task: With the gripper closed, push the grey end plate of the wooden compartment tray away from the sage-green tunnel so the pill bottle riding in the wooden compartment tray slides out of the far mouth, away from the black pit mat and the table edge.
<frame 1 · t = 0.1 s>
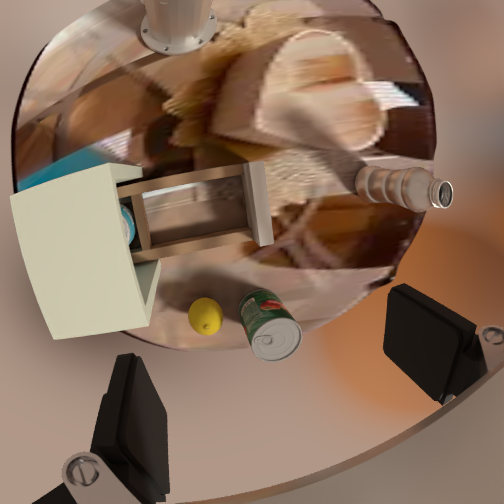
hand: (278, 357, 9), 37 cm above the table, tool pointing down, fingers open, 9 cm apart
lemon: (203, 304, 49), on the table
pill bottle: (115, 225, 42), resting in wooden compartment tray
plastic bottle: (364, 182, 49), on the table
tunnel: (115, 225, 41), on the table
canned tomato: (259, 308, 51), on the table
wooden compartment tray: (154, 220, 39), point 4 cm above the table, slide at 0.0 cm
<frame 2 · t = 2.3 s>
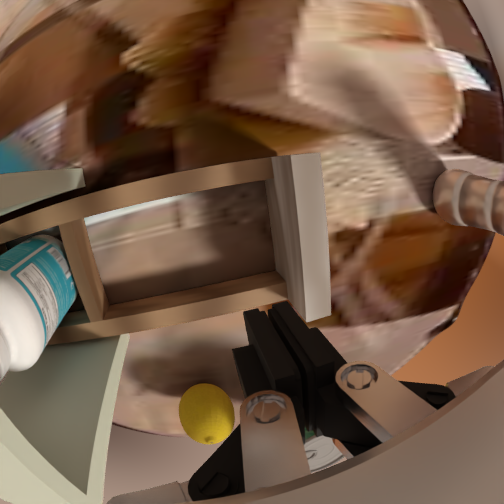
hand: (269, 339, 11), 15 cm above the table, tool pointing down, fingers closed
lemon: (202, 385, 29), on the table
pill bottle: (50, 270, 22), resting in wooden compartment tray
plastic bottle: (440, 193, 29), on the table
tunnel: (49, 271, 21), on the table
canned tomato: (286, 384, 32), on the table
wooden compartment tray: (101, 272, 19), point 4 cm above the table, slide at 0.0 cm
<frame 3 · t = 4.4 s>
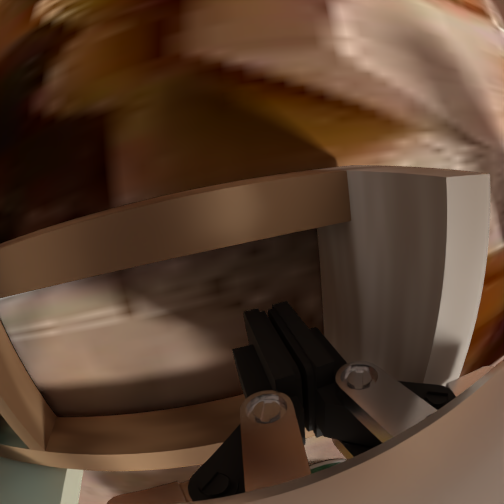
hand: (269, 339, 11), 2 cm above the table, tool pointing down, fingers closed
wooden compartment tray: (15, 402, 7), point 4 cm above the table, slide at 0.8 cm, touching gripper, pill bottle
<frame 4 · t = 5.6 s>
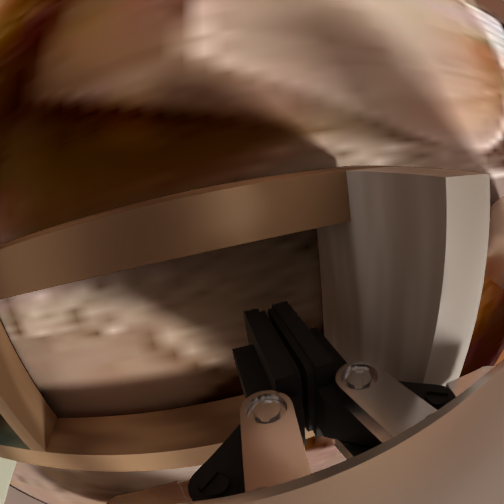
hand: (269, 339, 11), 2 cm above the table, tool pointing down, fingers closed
plastic bottle: (488, 233, 16), on the table
wooden compartment tray: (15, 403, 7), point 4 cm above the table, slide at 7.5 cm, touching gripper, pill bottle
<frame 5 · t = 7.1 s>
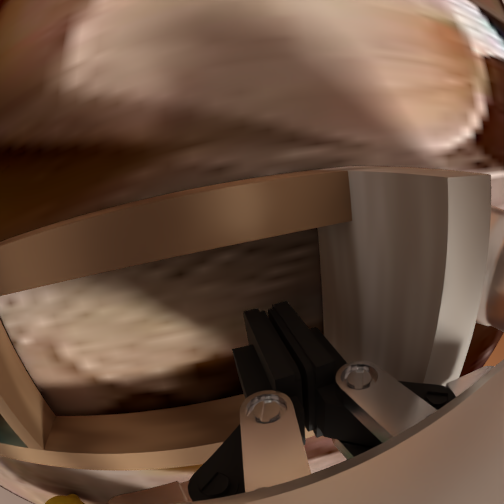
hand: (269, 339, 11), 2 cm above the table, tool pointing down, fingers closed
lemon: (75, 493, 14), on the table
plastic bottle: (449, 250, 15), on the table
wooden compartment tray: (14, 400, 7), point 4 cm above the table, slide at 13.0 cm, touching gripper, pill bottle
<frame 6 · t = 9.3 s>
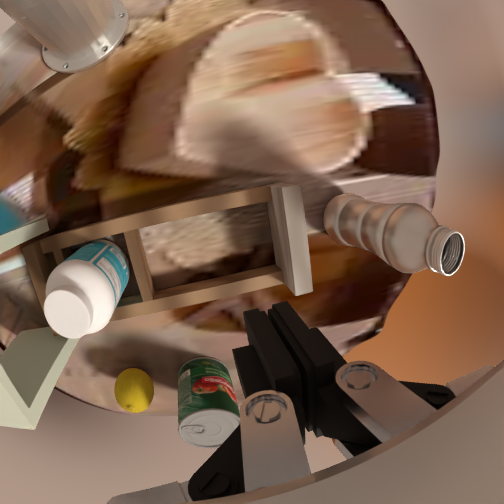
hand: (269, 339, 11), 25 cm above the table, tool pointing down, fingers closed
lemon: (137, 371, 37), on the table
pill bottle: (104, 266, 33), resting in wooden compartment tray
plastic bottle: (338, 216, 38), on the table
tunnel: (31, 285, 30), on the table
canned tomato: (203, 376, 40), on the table
wooden compartment tray: (155, 264, 30), point 4 cm above the table, slide at 13.0 cm
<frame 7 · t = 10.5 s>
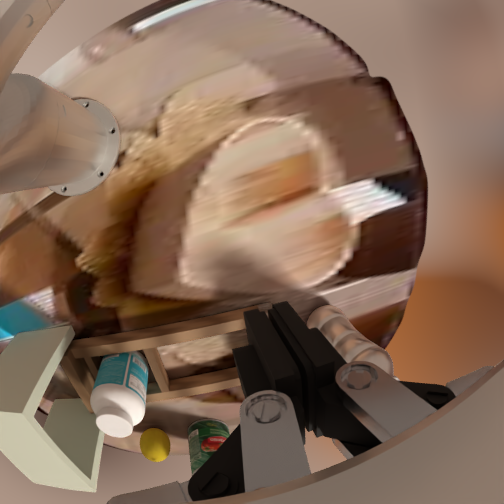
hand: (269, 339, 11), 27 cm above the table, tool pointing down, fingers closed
lemon: (155, 427, 43), on the table
pill bottle: (126, 362, 39), resting in wooden compartment tray
plastic bottle: (319, 318, 44), on the table
tunnel: (63, 370, 36), on the table
canned tomato: (207, 430, 46), on the table
wooden compartment tray: (171, 372, 36), point 4 cm above the table, slide at 13.0 cm
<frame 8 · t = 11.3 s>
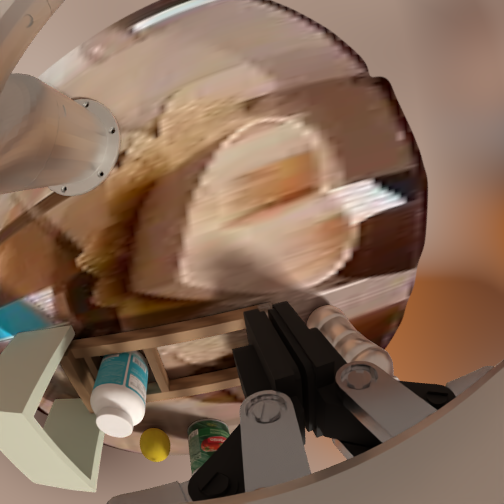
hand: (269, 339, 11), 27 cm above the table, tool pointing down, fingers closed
lemon: (155, 427, 43), on the table
pill bottle: (126, 362, 39), resting in wooden compartment tray
plastic bottle: (319, 318, 44), on the table
tunnel: (63, 370, 36), on the table
canned tomato: (207, 430, 46), on the table
wooden compartment tray: (171, 372, 36), point 4 cm above the table, slide at 13.0 cm
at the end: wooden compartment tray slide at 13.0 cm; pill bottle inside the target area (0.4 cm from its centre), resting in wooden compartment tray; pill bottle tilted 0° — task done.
